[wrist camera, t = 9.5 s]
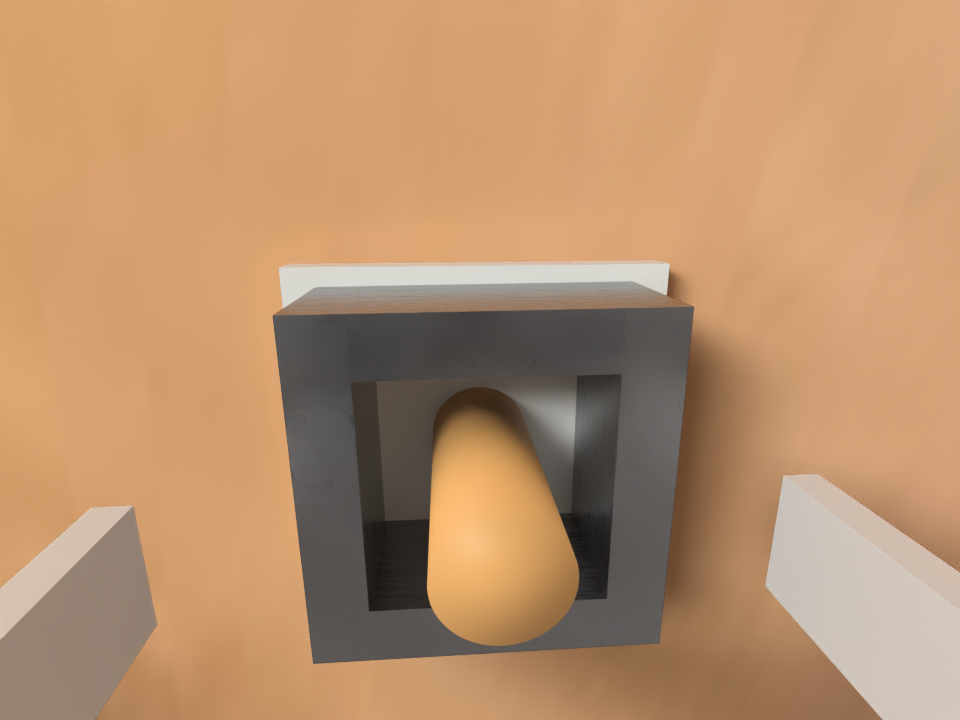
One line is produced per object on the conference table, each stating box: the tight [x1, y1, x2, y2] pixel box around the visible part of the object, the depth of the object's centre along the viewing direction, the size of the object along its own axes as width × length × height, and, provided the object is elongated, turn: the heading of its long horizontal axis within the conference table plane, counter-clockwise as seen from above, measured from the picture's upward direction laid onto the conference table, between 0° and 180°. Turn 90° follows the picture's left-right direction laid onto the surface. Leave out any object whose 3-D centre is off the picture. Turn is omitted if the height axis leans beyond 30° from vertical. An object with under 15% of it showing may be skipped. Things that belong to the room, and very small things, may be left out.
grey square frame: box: [273, 281, 694, 664], centre depth 15 cm, size 9×9×4 cm
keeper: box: [279, 260, 670, 646], centre depth 14 cm, size 11×10×8 cm
